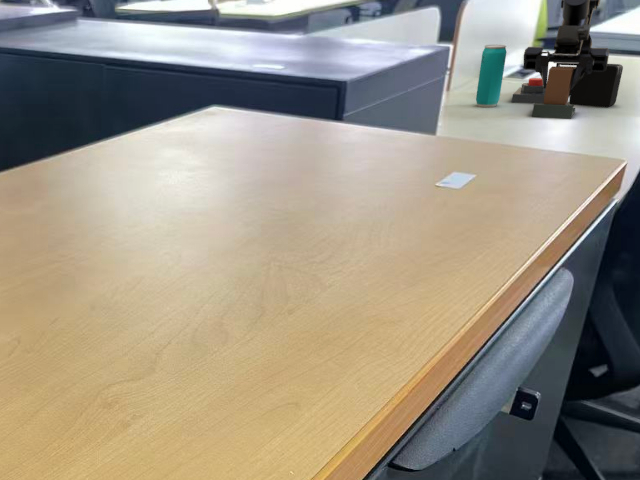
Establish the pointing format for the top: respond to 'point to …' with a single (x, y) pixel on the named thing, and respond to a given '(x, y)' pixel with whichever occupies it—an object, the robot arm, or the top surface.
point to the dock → (553, 111)
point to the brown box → (558, 85)
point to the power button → (535, 81)
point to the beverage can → (491, 75)
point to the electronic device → (598, 87)
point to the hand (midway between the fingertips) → (557, 87)
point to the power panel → (529, 94)
